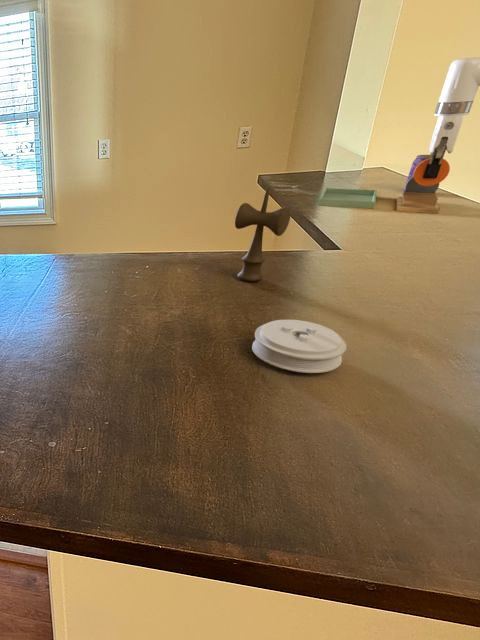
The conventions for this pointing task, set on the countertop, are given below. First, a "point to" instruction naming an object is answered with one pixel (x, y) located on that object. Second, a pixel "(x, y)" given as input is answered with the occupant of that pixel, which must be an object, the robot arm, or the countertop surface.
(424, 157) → the beverage can
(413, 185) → the slate disc
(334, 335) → the white round disc
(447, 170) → the orange disc
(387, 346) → the countertop surface
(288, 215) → the kendama
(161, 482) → the countertop surface
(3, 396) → the countertop surface
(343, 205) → the tray
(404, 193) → the disc rack
